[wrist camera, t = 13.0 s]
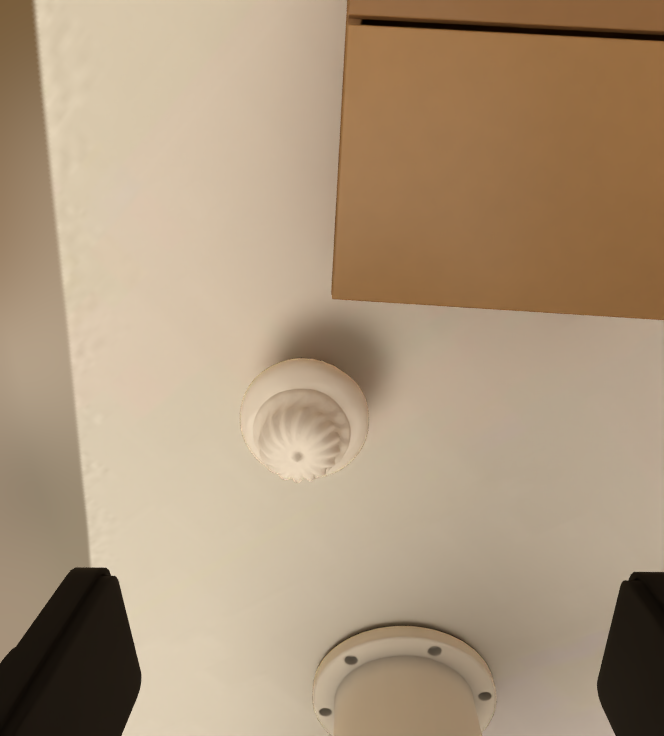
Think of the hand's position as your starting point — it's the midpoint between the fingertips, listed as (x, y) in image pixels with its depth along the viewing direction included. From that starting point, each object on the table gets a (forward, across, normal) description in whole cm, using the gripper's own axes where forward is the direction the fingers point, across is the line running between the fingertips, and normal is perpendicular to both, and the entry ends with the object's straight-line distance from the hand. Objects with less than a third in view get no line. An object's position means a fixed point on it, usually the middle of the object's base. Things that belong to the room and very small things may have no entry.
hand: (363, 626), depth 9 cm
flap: (+8, -6, -7) cm, 12 cm away
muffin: (+18, +2, +3) cm, 18 cm away
